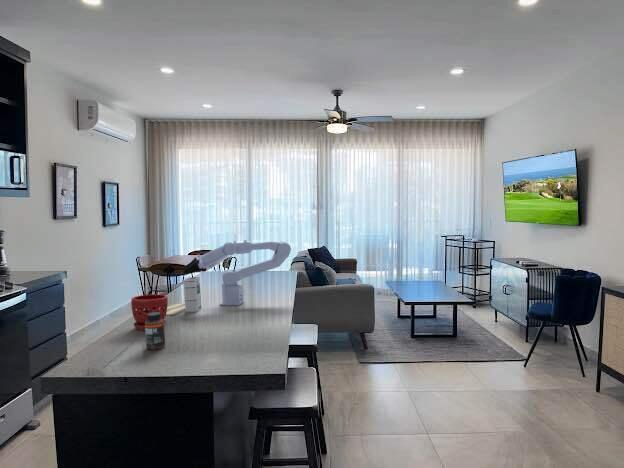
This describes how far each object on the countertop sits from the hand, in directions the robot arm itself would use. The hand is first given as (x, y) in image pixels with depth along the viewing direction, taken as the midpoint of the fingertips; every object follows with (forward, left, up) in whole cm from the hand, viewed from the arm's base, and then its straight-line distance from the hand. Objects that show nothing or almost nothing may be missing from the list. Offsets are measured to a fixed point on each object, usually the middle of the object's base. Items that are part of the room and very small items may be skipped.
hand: (184, 271), depth 209 cm
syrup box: (-6, +6, -17) cm, 19 cm away
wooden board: (+4, +6, -17) cm, 18 cm away
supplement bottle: (-18, +58, -17) cm, 63 cm away
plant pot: (-2, +34, -17) cm, 38 cm away
